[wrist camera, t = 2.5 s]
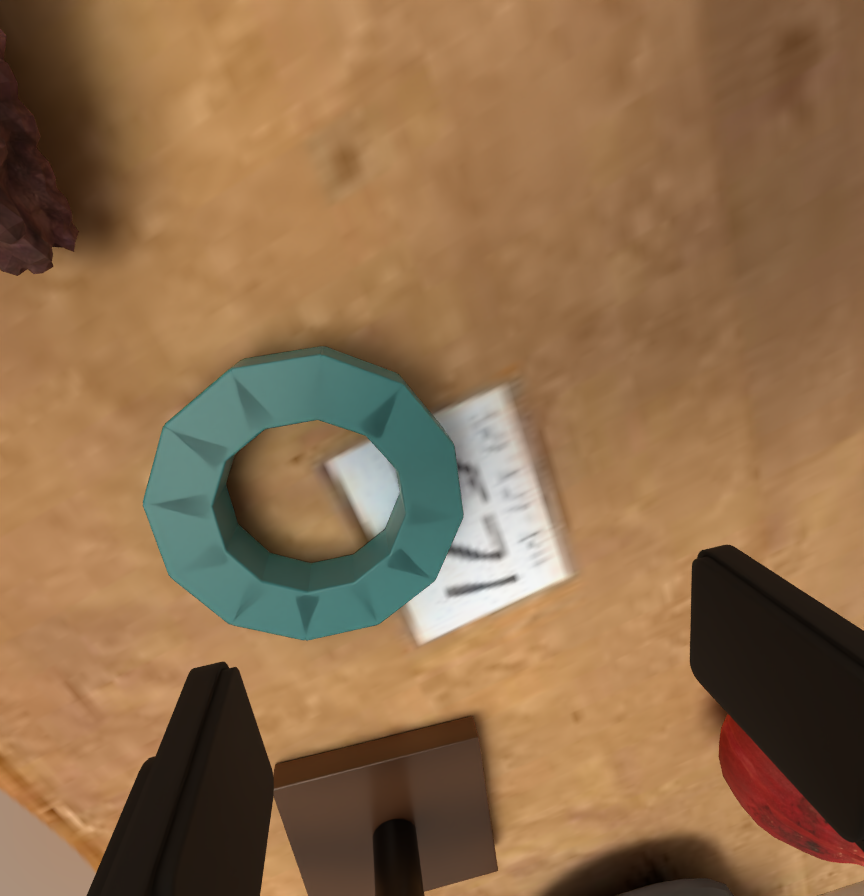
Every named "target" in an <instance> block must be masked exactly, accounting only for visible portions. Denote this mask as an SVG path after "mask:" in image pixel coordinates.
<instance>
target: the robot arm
mask: <svg viewBox="0 0 864 896" xmlns="http://www.w3.org/2000/svg"><path fill="white" fill-rule="evenodd" d="M690 666H691V669H692V672H693V674H694V676H695V677H696V679H697V680H698V681H699V683H700V684H701V685H702V686H703V687H704V688H705V689H706V690H707V691H708V692H709V694H710V695H711V696H712V697H713V698H714V699H715V700H716V701H717V702H718V703H719V704H720V706H721V707H722V708H723V709H724V710H725V711H726V712H727V713H728V714H729V715H730V716H731V718H732V719H733V720H734V721H735V722H736V723H737V724H738V725H739V726H740V727H741V728H742V730H743V731H744V732H745V733H746V734H747V735H748V736H749V737H750V738H751V739H752V741H753V742H754V743H755V744H756V745H757V746H758V747H759V748H760V749H761V750H762V751H763V753H764V754H765V755H766V756H767V757H768V758H769V759H770V760H771V761H772V762H773V763H774V765H775V766H776V767H777V768H778V769H779V770H780V771H781V772H782V773H783V774H784V775H785V777H786V778H787V779H788V780H789V781H790V782H791V783H792V784H793V785H794V786H795V788H796V789H797V790H798V791H799V792H800V793H801V794H802V795H803V796H804V797H805V798H806V800H807V801H808V802H809V803H810V804H811V805H812V806H813V807H814V808H815V809H816V810H817V812H818V813H819V814H820V815H821V816H822V817H823V818H824V819H825V820H826V821H827V823H828V824H829V825H830V826H831V827H832V828H833V829H834V830H835V831H836V832H837V833H838V834H839V835H840V836H841V837H842V838H843V839H845V840H846V841H848V842H851V843H854V842H855V843H856V845H857V846H858V847H859V848H860V849H861V850H862V851H863V852H864V631H863V630H862V629H860V628H858V627H857V626H855V625H854V624H852V623H851V622H849V621H848V620H846V619H845V618H843V617H842V616H840V615H838V614H837V613H835V612H834V611H832V610H831V609H829V608H828V607H826V606H825V605H823V604H822V603H820V602H818V601H817V600H815V599H814V598H812V597H811V596H809V595H808V594H806V593H805V592H803V591H802V590H800V589H798V588H797V587H795V586H794V585H792V584H791V583H789V582H788V581H786V580H785V579H783V578H782V577H780V576H778V575H777V574H775V573H774V572H772V571H771V570H769V569H768V568H766V567H765V566H763V565H762V564H760V563H758V562H757V561H755V560H754V559H752V558H751V557H749V556H748V555H746V554H745V553H743V552H742V551H740V550H738V549H737V548H735V547H734V546H731V545H723V546H718V547H714V548H710V549H705V550H702V551H700V552H699V554H698V557H697V559H695V560H694V561H693V563H692V588H691V633H690ZM273 795H274V778H273V772H272V768H271V765H270V762H269V759H268V756H267V753H266V750H265V747H264V744H263V741H262V738H261V735H260V732H259V729H258V726H257V723H256V720H255V717H254V714H253V711H252V708H251V705H250V702H249V699H248V696H247V693H246V690H245V687H244V684H243V681H242V678H241V675H240V672H239V670H238V668H237V667H233V668H229V667H228V665H227V664H226V663H225V662H219V663H215V664H210V665H206V666H202V667H197V668H193V669H192V670H191V671H190V673H189V674H188V677H187V679H186V682H185V684H184V687H183V689H182V692H181V694H180V697H179V699H178V702H177V704H176V707H175V709H174V712H173V714H172V717H171V719H170V722H169V724H168V727H167V729H166V732H165V734H164V737H163V739H162V742H161V744H160V747H159V749H158V752H157V754H156V756H155V757H151V758H149V759H148V760H147V761H146V762H145V763H144V764H143V766H142V767H141V769H140V771H139V773H138V775H137V778H136V780H135V783H134V785H133V787H132V790H131V792H130V794H129V797H128V799H127V801H126V804H125V806H124V809H123V811H122V813H121V816H120V818H119V820H118V823H117V825H116V828H115V830H114V832H113V835H112V837H111V839H110V842H109V844H108V846H107V849H106V851H105V854H104V856H103V858H102V861H101V863H100V865H99V868H98V870H97V872H96V875H95V877H94V880H93V882H92V884H91V887H90V889H89V892H88V894H87V896H260V891H261V883H262V876H263V869H264V861H265V854H266V847H267V839H268V832H269V825H270V817H271V810H272V802H273ZM818 896H864V881H861V882H858V883H855V884H852V885H849V886H846V887H842V888H839V889H836V890H833V891H830V892H827V893H824V894H821V895H818Z"/></svg>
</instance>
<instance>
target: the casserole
mask: <svg viewBox="0 0 864 896" xmlns="http://www.w3.org/2000/svg"><path fill="white" fill-rule="evenodd" d="M616 896H734V895H733V894H732V893H731V891H730V890H729V888H728V887H727V886H726V884H723V883H720V882H717V881H714V880H711V879H708V878H698V879H677V880H672V881H666V882H661V883H655V884H650V885H647V886H644V887H641V888H637V889H634V890H631V891H628V892H624V893H621V894H618V895H616Z"/></svg>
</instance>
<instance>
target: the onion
mask: <svg viewBox="0 0 864 896" xmlns="http://www.w3.org/2000/svg"><path fill="white" fill-rule="evenodd" d="M719 760H720V764H721V769H722V773H723V777H724V778H725V780H726V782H727V783H728V785H729V787H730V789H731V790H732V792H733V794H734V796H735V797H736V799H737V800H738V801H739V803H740V804H741V806H742V807H743V808H744V809H745V811H746V812H747V813H748V814H749V815H750V816H751V817H752V819H753V820H754V821H755V822H756V823H757V824H758V825H759V826H760V827H762V828H763V829H764V830H765V831H767V832H768V833H769V834H771V835H772V836H773V837H775V838H777V839H779V840H781V841H783V842H785V843H787V844H789V845H791V846H793V847H795V848H797V849H799V850H801V851H803V852H805V853H808V854H810V855H812V856H815V857H817V858H819V859H822V860H826V861H830V862H838V863H853V864H858V865H861V866H864V852H863V851H862V850H861V849H860V848H859V847H858V846H857V845H856V843H855V842H854V843H851V842H848V841H846V840H845V839H843V838H842V837H841V836H840V835H839V834H838V833H837V832H836V831H835V830H834V829H833V828H832V827H831V826H830V825H829V824H828V823H827V821H826V820H825V819H824V818H823V817H822V816H821V815H820V814H819V813H818V812H817V810H816V809H815V808H814V807H813V806H812V805H811V804H810V803H809V802H808V801H807V800H806V798H805V797H804V796H803V795H802V794H801V793H800V792H799V791H798V790H797V789H796V788H795V786H794V785H793V784H792V783H791V782H790V781H789V780H788V779H787V778H786V777H785V775H784V774H783V773H782V772H781V771H780V770H779V769H778V768H777V767H776V766H775V765H774V763H773V762H772V761H771V760H770V759H769V758H768V757H767V756H766V755H765V754H764V753H763V751H762V750H761V749H760V748H759V747H758V746H757V745H756V744H755V743H754V742H753V741H752V739H751V738H750V737H749V736H748V735H747V734H746V733H745V732H744V731H743V730H742V728H741V727H740V726H739V725H738V724H737V723H736V722H735V721H734V720H733V719H732V718H731V716H730V715H729V714H727V716H726V718H725V720H724V723H723V725H722V727H721V734H720V741H719Z"/></svg>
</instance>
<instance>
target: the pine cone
mask: <svg viewBox="0 0 864 896" xmlns="http://www.w3.org/2000/svg"><path fill="white" fill-rule="evenodd" d="M6 37H7V36H6V35H5V34H4V32H3V31H2V30H1V29H0V269H1V271H3V272H7V273H10V274H13V275H16V276H18V275H20V274H21V273H23V272H24V271H25V270H27V269H28V270H30V271H31V272H32V273H33V274H39V273H44V272H45V271H47V270H48V269H50V268H52V267H53V264H52V257H53V252H52V247H63V248H66V249H68V250H71V251H73V252H74V248H75V242H76V239H77V236H78V233H79V231H78V230H77V228H76V227H75V225H74V224H73V220H72V212H71V209H70V206H69V203H68V200H67V198H66V197H65V196H64V195H63V194H62V193H61V192H60V191H59V190H58V189H57V187H56V182H55V180H56V177H55V175H54V172H53V170H52V168H51V165H50V163H49V161H48V160H47V159H46V158H45V157H44V156H43V155H42V154H41V153H40V151H39V150H38V149H37V145H38V142H39V139H40V134H39V130H38V127H37V124H36V121H35V118H34V115H33V114H32V113H31V112H30V111H29V110H28V109H27V108H26V107H25V105H24V104H23V103H22V102H21V101H20V100H19V99H18V83H17V81H16V79H15V76H14V74H13V72H12V70H11V68H10V66H9V64H8V63H7V62H5V61H4V53H5V45H6Z"/></svg>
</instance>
